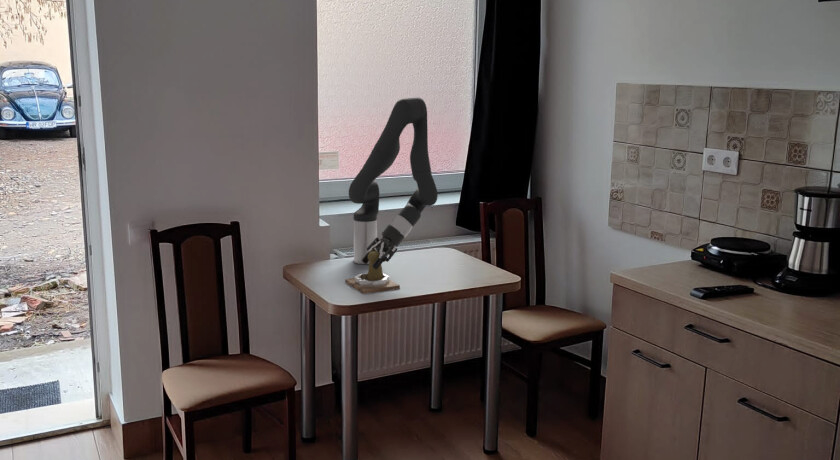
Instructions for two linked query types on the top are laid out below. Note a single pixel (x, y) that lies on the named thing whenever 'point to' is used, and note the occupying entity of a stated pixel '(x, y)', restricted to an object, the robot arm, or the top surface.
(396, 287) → the walnut board
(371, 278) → the olive chess piece
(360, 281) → the metal collar
